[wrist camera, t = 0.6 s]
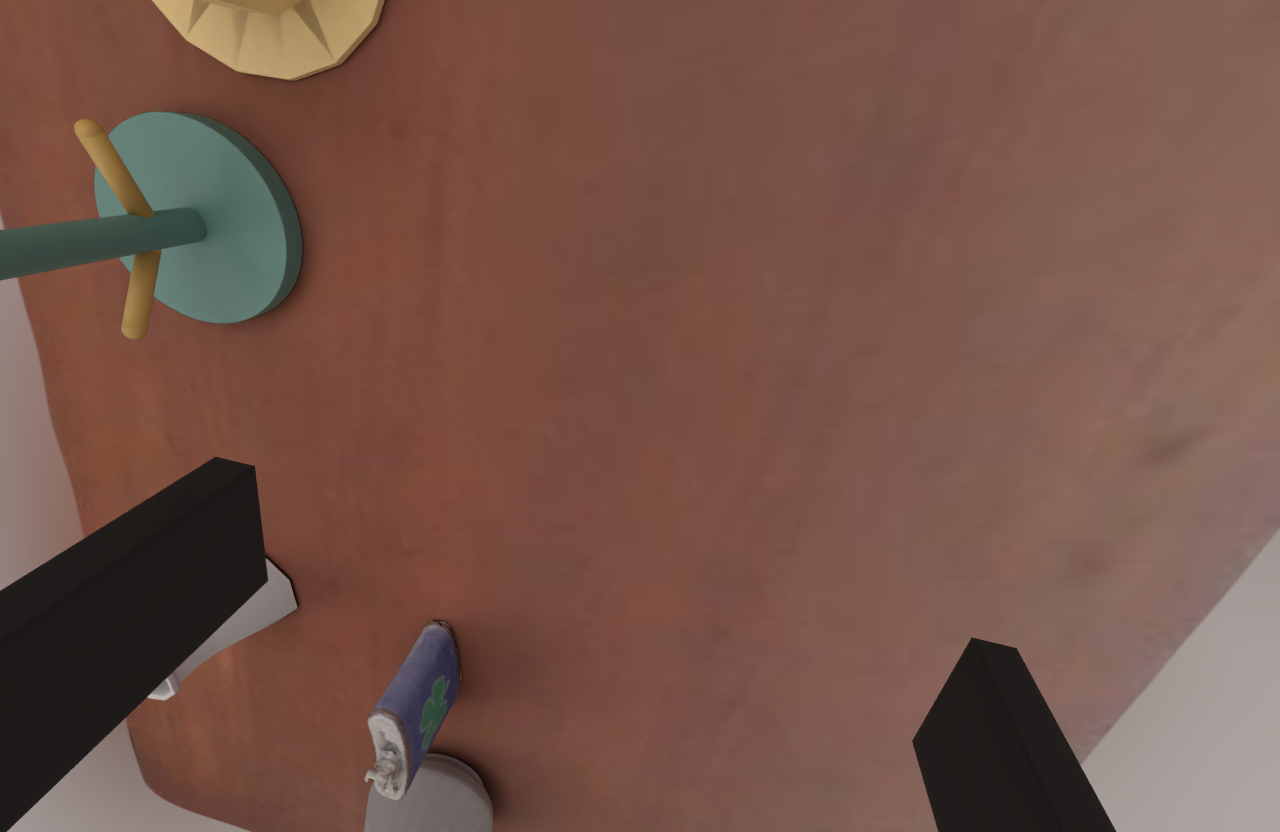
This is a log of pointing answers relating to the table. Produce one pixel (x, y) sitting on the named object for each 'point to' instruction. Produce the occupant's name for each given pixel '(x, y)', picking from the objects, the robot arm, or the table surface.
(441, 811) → the coffee pot
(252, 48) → the hat
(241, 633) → the flask
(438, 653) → the flask
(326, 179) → the table surface
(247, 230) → the hat stand
